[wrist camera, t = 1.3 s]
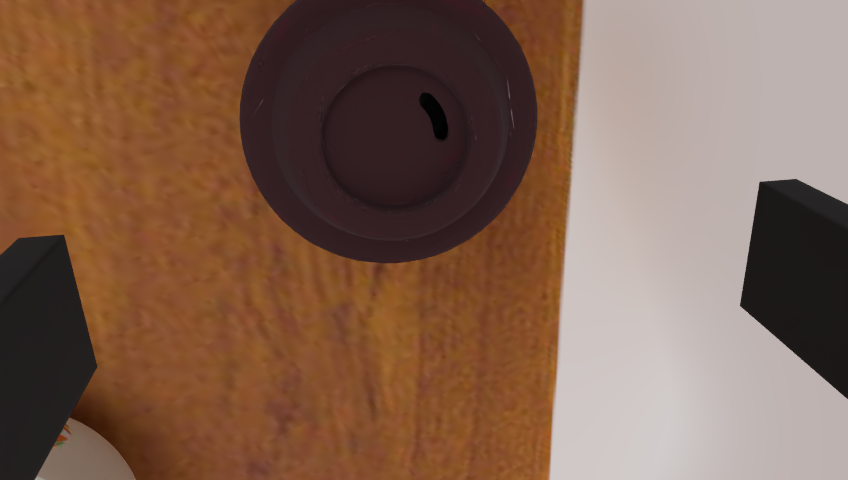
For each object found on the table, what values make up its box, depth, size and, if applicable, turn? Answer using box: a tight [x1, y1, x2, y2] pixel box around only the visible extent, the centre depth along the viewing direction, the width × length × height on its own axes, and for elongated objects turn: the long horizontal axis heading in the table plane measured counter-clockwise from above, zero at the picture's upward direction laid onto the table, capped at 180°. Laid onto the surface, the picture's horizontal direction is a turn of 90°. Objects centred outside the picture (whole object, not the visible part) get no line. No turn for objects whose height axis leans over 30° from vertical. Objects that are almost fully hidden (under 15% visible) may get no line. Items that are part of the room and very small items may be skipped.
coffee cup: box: [240, 0, 537, 263], centre depth 29 cm, size 10×10×15 cm
